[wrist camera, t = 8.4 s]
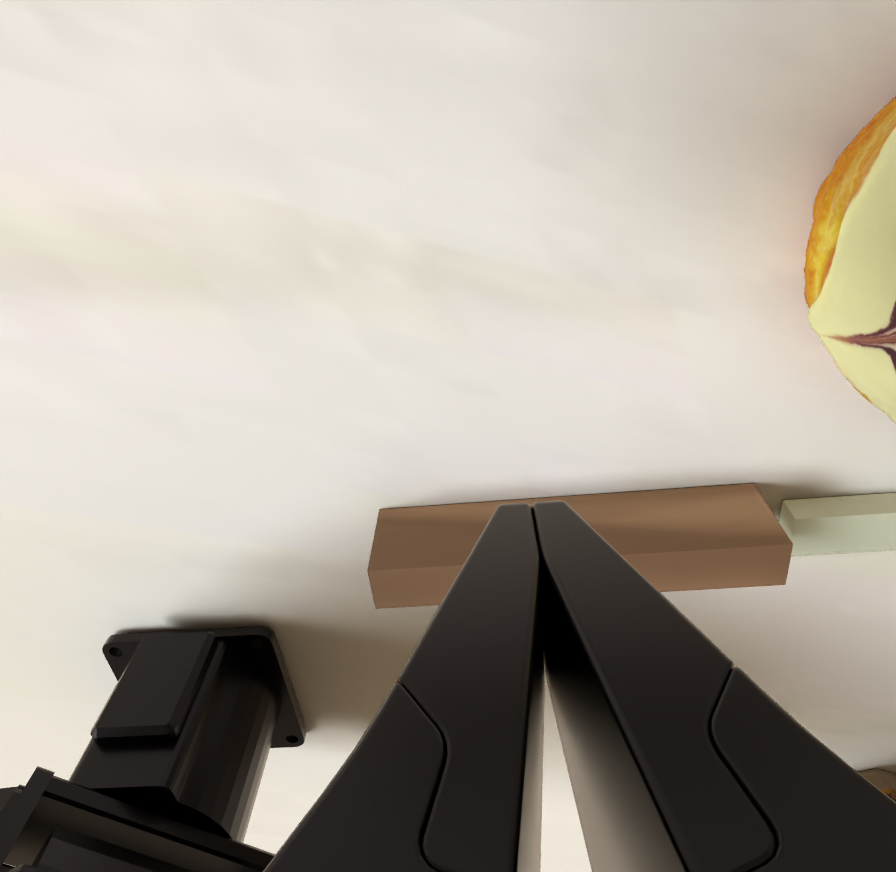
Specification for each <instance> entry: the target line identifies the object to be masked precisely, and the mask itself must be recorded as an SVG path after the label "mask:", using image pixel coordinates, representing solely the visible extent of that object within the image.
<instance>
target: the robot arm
mask: <svg viewBox="0 0 896 872" xmlns="http://www.w3.org/2000/svg"><path fill="white" fill-rule="evenodd" d="M258 639H260V640H258ZM261 640H262V641H261ZM102 650H103V653H104V655H105V657H106V659H107V661H108V663H109V665H110V667H111V669H112V671H113V673H114V675H115V677H116V679H117V680H118V683H117V685H116V686H115V688H114V690H113V692H112V694H111V695H110V697H109V699H108V701H107V703H106V705H105V706H104V708H103V710H102V712H101V714H100V715H99V717H98V719H97V721H96V723H95V724H94V726H93V728H92V730H91V736H92V739H91V741H90V742H89V744H88V746H87V748H86V750H85V752H84V753H83V755H82V757H81V759H80V761H79V763H78V764H77V766H76V768H75V770H74V772H73V774H72V775H71V777H70V779H69V781H67V780H64V779H62V778H59V777H56V776H53V775H54V773H55V772H52V771H50V770H47V769H44V768H41V767H38V766H37V768H36V770H35V771H34V773H33V775H32V776H31V778H30V779H29V781H28V783H27V784H26V786H22V785H19V786H18V787H10V788H2V789H0V872H540V859H541V817H542V776H543V734H544V665H545V672H546V678H547V683H548V688H549V692H550V697H551V701H552V705H553V709H554V714H555V718H556V722H557V726H558V730H559V735H560V739H561V743H562V747H563V751H564V756H565V760H566V764H567V768H568V772H569V777H570V781H571V785H572V789H573V793H574V798H575V802H576V806H577V810H578V814H579V819H580V823H581V827H582V831H583V835H584V840H585V844H586V848H587V852H588V856H589V861H590V865H591V869H592V872H896V802H894V801H893V800H892V799H891V798H889V797H888V796H887V795H886V794H884V793H883V792H882V791H880V790H879V789H878V788H877V787H875V786H874V785H873V784H872V783H870V782H869V781H868V780H867V779H865V778H864V777H863V776H862V775H860V774H859V773H858V772H857V771H855V770H854V769H853V768H852V767H850V766H849V765H848V764H847V763H846V762H844V761H843V760H842V759H841V758H840V757H838V756H837V755H836V754H835V753H834V752H832V751H831V750H830V749H829V748H828V747H826V746H825V745H824V744H823V743H821V742H820V741H819V740H818V739H817V738H815V737H814V736H813V735H812V734H811V733H809V732H808V731H807V730H806V729H805V728H804V727H802V726H801V725H800V724H799V723H798V722H797V721H796V720H795V719H794V718H793V717H791V716H790V715H789V714H788V713H787V712H786V711H785V710H784V709H783V708H781V707H780V706H779V705H778V704H777V703H776V702H775V701H774V700H773V699H772V698H770V697H769V696H768V695H767V694H766V693H765V692H764V691H763V690H762V689H761V688H760V687H759V686H758V685H757V684H755V683H754V682H753V681H752V680H751V679H750V678H749V677H748V676H747V675H746V674H745V673H744V672H743V671H742V670H741V669H740V668H738V667H735V668H734V664H733V662H732V661H731V660H730V659H729V658H728V657H727V656H726V655H725V654H724V653H723V652H722V651H721V650H720V649H719V648H717V647H716V646H715V645H714V644H713V643H712V642H711V641H710V640H709V639H708V638H707V637H706V636H705V635H704V634H703V633H702V632H701V631H700V630H699V629H698V628H697V627H696V626H695V625H693V624H692V623H691V622H690V621H689V620H688V619H687V618H686V617H685V616H684V615H683V614H682V613H681V612H680V611H679V610H678V609H677V608H676V607H675V606H674V605H673V604H672V603H670V602H669V601H668V600H667V599H666V598H665V597H664V596H663V595H662V594H661V593H660V592H659V591H658V590H657V589H656V588H655V587H654V586H653V585H652V584H651V583H650V582H649V581H648V580H646V579H645V578H644V577H643V576H642V575H641V574H640V573H639V572H638V571H637V570H636V569H635V568H634V567H633V566H632V565H631V564H630V563H629V562H628V561H627V560H626V559H625V558H623V557H622V556H621V555H620V554H619V553H618V552H617V551H616V550H615V549H614V548H613V547H612V546H611V545H610V544H609V543H608V542H607V541H606V540H605V539H604V538H603V537H602V536H601V535H599V534H598V533H597V532H596V531H595V530H594V529H593V528H592V527H591V526H590V525H589V524H588V523H587V522H586V521H585V520H584V519H583V518H582V517H581V516H580V515H579V514H578V513H576V512H575V511H574V510H573V509H572V508H571V507H570V506H569V505H568V504H567V503H566V502H564V501H561V500H558V501H543V502H535V503H534V504H533V505H532V509H531V506H530V505H529V504H528V503H511V504H500V505H499V506H498V507H497V508H496V510H495V511H494V513H493V515H492V517H491V518H490V520H489V522H488V523H487V525H486V527H485V529H484V530H483V532H482V534H481V535H480V537H479V539H478V541H477V542H476V544H475V546H474V548H473V549H472V551H471V553H470V554H469V556H468V558H467V560H466V561H465V563H464V565H463V566H462V568H461V570H460V572H459V573H458V575H457V577H456V579H455V580H454V582H453V584H452V585H451V587H450V589H449V591H448V592H447V594H446V596H445V597H444V599H443V601H442V603H441V604H440V606H439V608H438V610H437V611H436V613H435V615H434V616H433V618H432V620H431V622H430V623H429V625H428V627H427V628H426V630H425V632H424V634H423V635H422V637H421V639H420V640H419V642H418V644H417V646H416V647H415V649H414V651H413V653H412V654H411V656H410V658H409V659H408V661H407V663H406V665H405V666H404V668H403V670H402V671H401V673H400V675H399V677H398V679H397V683H395V684H394V685H393V686H392V688H391V690H390V692H389V693H388V695H387V697H386V698H385V700H384V702H383V704H382V705H381V707H380V709H379V711H378V712H377V714H376V715H375V717H374V719H373V720H372V722H371V723H370V725H369V726H368V728H367V730H366V731H365V733H364V734H363V736H362V738H361V739H360V741H359V742H358V744H357V746H356V747H355V749H354V750H353V752H352V753H351V754H350V756H349V757H348V758H347V760H346V761H345V763H344V764H343V765H342V767H341V768H340V770H339V771H338V772H337V774H336V775H335V776H334V778H333V779H332V781H331V782H330V783H329V785H328V786H327V788H326V789H325V790H324V792H323V793H322V794H321V796H320V797H319V798H318V800H317V801H316V802H315V804H314V805H313V806H312V808H311V809H310V810H309V811H308V813H307V814H306V815H305V817H304V818H303V819H302V821H301V822H300V823H299V825H298V826H297V827H296V829H295V830H294V831H293V833H292V834H291V835H290V836H289V838H288V839H287V840H286V842H285V843H284V844H283V846H282V847H281V848H280V850H279V851H278V852H277V854H276V855H275V854H272V853H269V852H267V851H264V850H261V849H258V848H255V847H253V846H250V845H247V844H244V843H243V841H244V837H245V834H246V830H247V827H248V823H249V820H250V816H251V813H252V809H253V806H254V802H255V799H256V795H257V792H258V788H259V785H260V781H261V777H262V774H263V770H264V767H265V763H266V760H267V756H268V753H269V749H270V748H280V747H297V746H300V745H302V744H303V743H304V740H305V736H306V728H305V725H304V722H303V719H302V716H301V713H300V710H299V707H298V704H297V701H296V698H295V694H294V691H293V688H292V685H291V682H290V679H289V676H288V673H287V670H286V667H285V664H284V661H283V658H282V655H281V652H280V649H279V646H278V643H277V640H276V637H275V634H274V633H273V631H271V630H270V629H269V628H266V627H261V626H254V627H237V628H220V629H202V630H185V631H167V632H150V633H132V634H116V635H111V636H110V637H109V638H108V639H107V641H106V643H105V644H104V646H103V649H102ZM4 863H5V864H4ZM7 864H8V865H7ZM10 865H12V866H10ZM13 866H15V867H13Z"/></svg>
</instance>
